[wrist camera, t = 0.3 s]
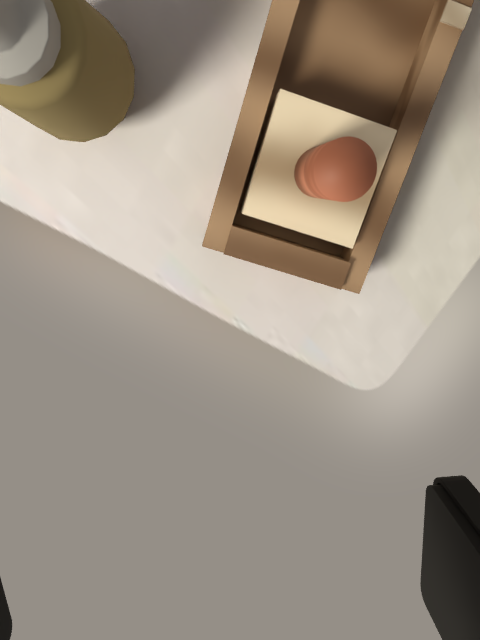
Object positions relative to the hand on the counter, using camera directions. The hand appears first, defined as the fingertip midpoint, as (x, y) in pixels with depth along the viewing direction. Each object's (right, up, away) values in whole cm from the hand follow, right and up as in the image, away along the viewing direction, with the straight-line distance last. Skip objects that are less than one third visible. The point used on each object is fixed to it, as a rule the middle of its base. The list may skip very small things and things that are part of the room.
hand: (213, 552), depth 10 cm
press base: (+7, +22, +24) cm, 33 cm away
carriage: (+6, +16, +24) cm, 29 cm away
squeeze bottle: (-10, +22, +24) cm, 34 cm away
